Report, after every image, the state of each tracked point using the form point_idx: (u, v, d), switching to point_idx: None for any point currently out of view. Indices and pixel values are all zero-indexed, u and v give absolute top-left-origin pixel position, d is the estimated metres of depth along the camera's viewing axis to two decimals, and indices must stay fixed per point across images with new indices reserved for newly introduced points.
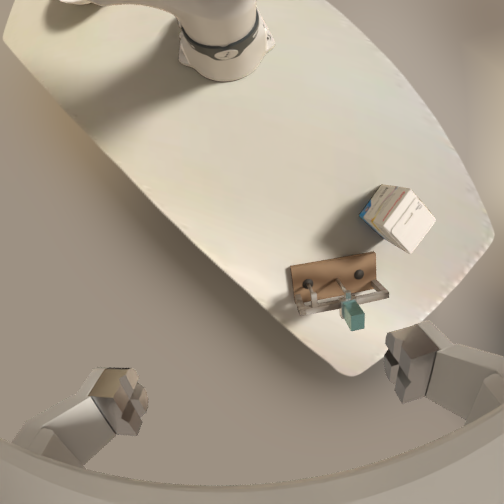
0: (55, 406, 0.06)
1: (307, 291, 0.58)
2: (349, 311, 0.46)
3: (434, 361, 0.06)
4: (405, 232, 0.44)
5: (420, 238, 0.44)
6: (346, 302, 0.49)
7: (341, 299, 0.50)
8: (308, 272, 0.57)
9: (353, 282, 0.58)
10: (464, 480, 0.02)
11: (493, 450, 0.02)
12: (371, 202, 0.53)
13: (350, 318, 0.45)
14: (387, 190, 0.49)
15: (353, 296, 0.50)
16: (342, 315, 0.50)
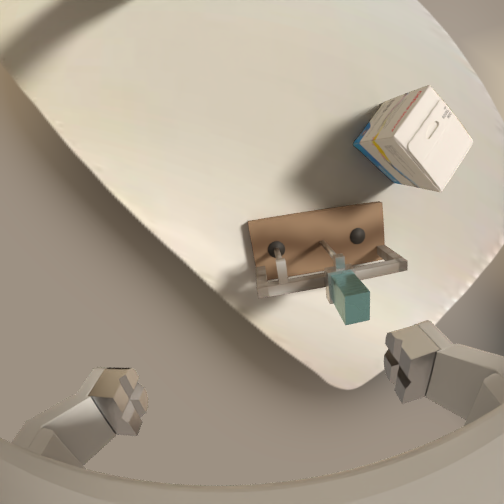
0: (55, 406, 0.06)
1: (276, 261, 0.38)
2: (342, 288, 0.26)
3: (434, 361, 0.06)
4: (431, 153, 0.23)
5: (454, 166, 0.24)
6: (336, 275, 0.29)
7: (328, 270, 0.30)
8: (276, 231, 0.37)
9: (349, 248, 0.37)
10: (464, 480, 0.02)
11: (493, 450, 0.02)
12: (370, 123, 0.32)
13: (343, 301, 0.25)
14: (393, 102, 0.28)
15: (349, 265, 0.30)
16: (330, 298, 0.30)
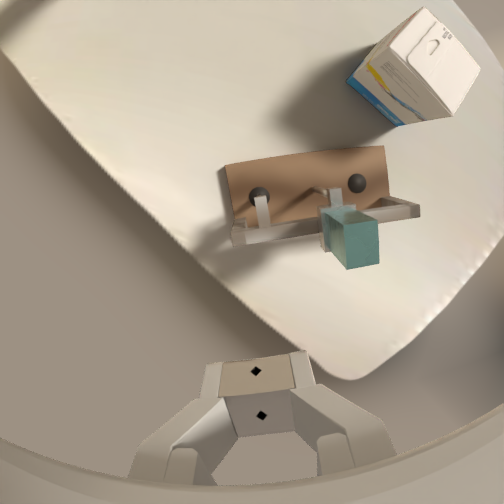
0: (176, 417, 0.06)
1: None
2: (339, 220, 0.19)
3: (290, 399, 0.06)
4: (435, 70, 0.17)
5: (463, 90, 0.17)
6: (331, 211, 0.22)
7: (321, 207, 0.23)
8: (259, 175, 0.30)
9: (348, 198, 0.31)
10: (464, 480, 0.02)
11: (493, 450, 0.02)
12: (364, 59, 0.25)
13: (342, 234, 0.18)
14: (388, 34, 0.22)
15: (348, 202, 0.23)
16: (326, 243, 0.23)
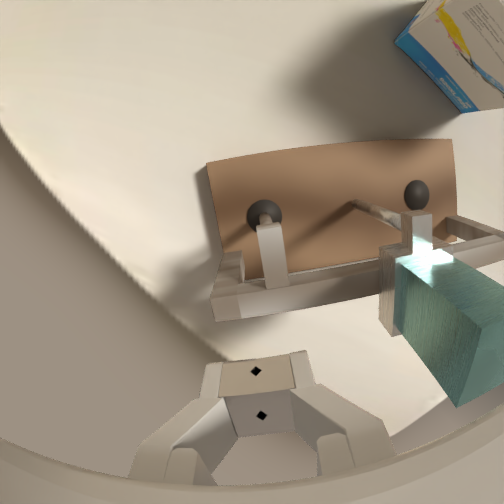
0: (176, 417, 0.06)
1: None
2: (455, 300, 0.07)
3: (290, 399, 0.06)
4: None
5: None
6: (416, 263, 0.10)
7: (392, 250, 0.11)
8: (264, 179, 0.18)
9: None
10: (464, 480, 0.02)
11: (493, 450, 0.02)
12: (418, 14, 0.13)
13: (468, 342, 0.06)
14: None
15: (435, 240, 0.11)
16: (395, 322, 0.11)
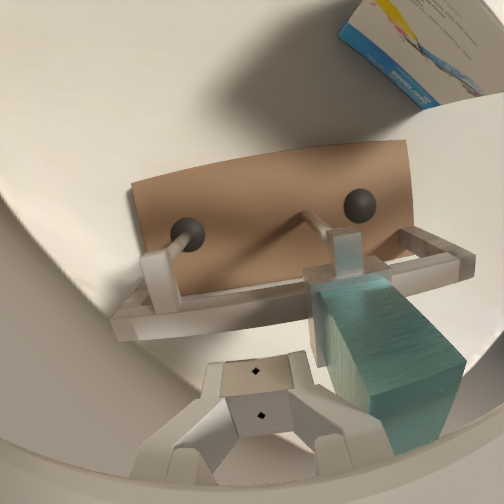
0: (178, 417, 0.06)
1: (189, 260, 0.18)
2: (357, 347, 0.06)
3: (289, 399, 0.06)
4: None
5: None
6: (337, 291, 0.09)
7: (313, 274, 0.10)
8: (186, 197, 0.17)
9: None
10: (464, 480, 0.02)
11: (493, 450, 0.02)
12: None
13: (362, 403, 0.05)
14: None
15: (373, 260, 0.10)
16: (320, 353, 0.10)
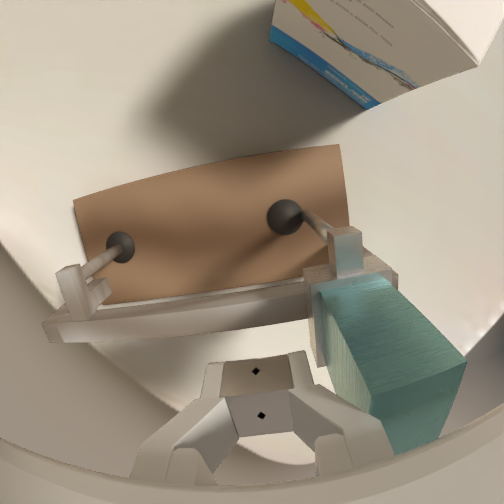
0: (177, 417, 0.06)
1: (123, 270, 0.19)
2: (357, 347, 0.06)
3: (288, 399, 0.06)
4: None
5: (492, 18, 0.05)
6: (337, 290, 0.09)
7: (313, 274, 0.10)
8: (116, 212, 0.17)
9: (268, 245, 0.18)
10: (464, 480, 0.02)
11: (493, 450, 0.02)
12: None
13: (363, 403, 0.05)
14: None
15: (373, 260, 0.10)
16: (320, 353, 0.10)
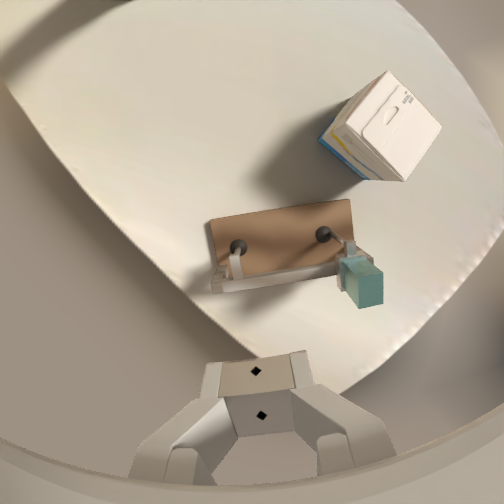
0: (176, 417, 0.06)
1: None
2: (354, 271, 0.25)
3: (290, 399, 0.06)
4: (390, 139, 0.23)
5: (419, 154, 0.24)
6: (347, 260, 0.28)
7: (339, 256, 0.29)
8: (238, 229, 0.36)
9: (315, 247, 0.37)
10: (464, 480, 0.02)
11: (493, 450, 0.02)
12: (335, 118, 0.32)
13: (356, 283, 0.24)
14: (357, 94, 0.29)
15: (360, 251, 0.29)
16: (342, 285, 0.29)
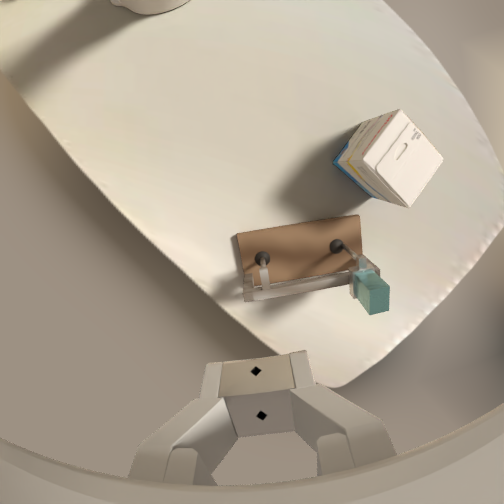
0: (176, 417, 0.06)
1: None
2: (366, 284, 0.30)
3: (290, 399, 0.06)
4: (399, 172, 0.28)
5: (422, 184, 0.28)
6: (359, 273, 0.33)
7: (352, 269, 0.34)
8: (262, 242, 0.41)
9: (329, 257, 0.42)
10: (464, 480, 0.02)
11: (493, 450, 0.02)
12: (349, 143, 0.37)
13: (368, 294, 0.29)
14: (369, 123, 0.33)
15: (369, 265, 0.34)
16: (354, 293, 0.34)
